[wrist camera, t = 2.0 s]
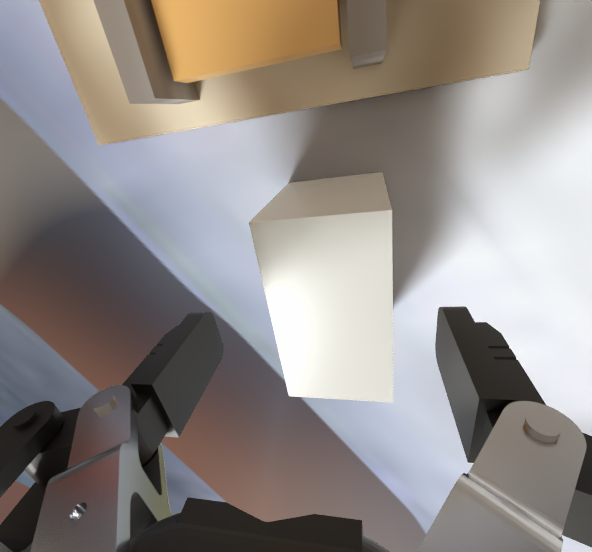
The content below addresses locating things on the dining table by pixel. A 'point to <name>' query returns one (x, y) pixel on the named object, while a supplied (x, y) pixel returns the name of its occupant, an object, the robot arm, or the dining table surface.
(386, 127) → the dining table surface
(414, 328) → the dining table surface
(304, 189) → the block
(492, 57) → the mounting board
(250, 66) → the plate
